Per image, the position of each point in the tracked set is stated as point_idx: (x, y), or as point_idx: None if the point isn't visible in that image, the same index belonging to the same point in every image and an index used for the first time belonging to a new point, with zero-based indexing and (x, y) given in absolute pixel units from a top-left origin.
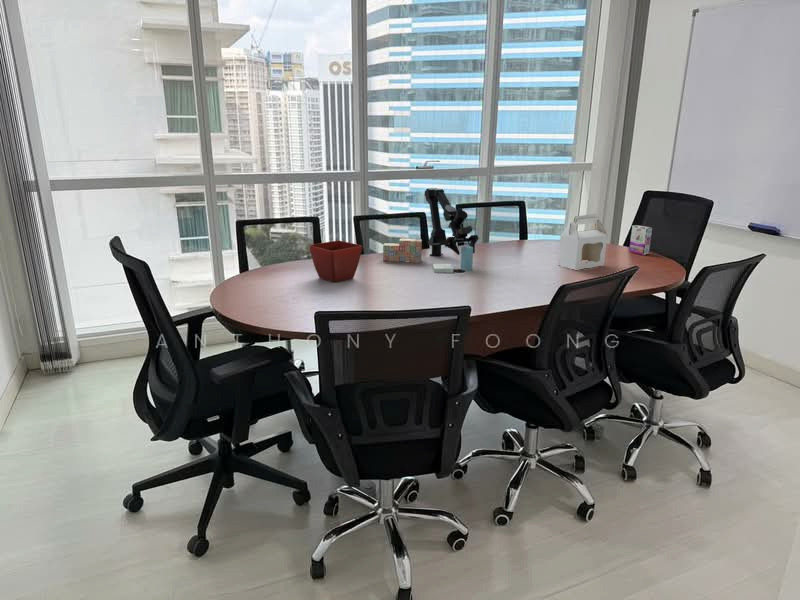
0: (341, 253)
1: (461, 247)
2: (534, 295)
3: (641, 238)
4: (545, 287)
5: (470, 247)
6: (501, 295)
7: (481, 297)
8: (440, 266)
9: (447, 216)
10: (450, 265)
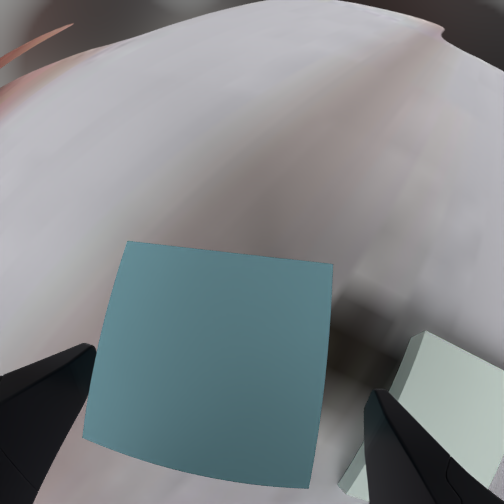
0: None
1: (304, 481)
2: (267, 9)
3: None
4: (179, 28)
5: (170, 276)
6: (353, 29)
7: (414, 45)
8: (474, 435)
9: None
10: None
